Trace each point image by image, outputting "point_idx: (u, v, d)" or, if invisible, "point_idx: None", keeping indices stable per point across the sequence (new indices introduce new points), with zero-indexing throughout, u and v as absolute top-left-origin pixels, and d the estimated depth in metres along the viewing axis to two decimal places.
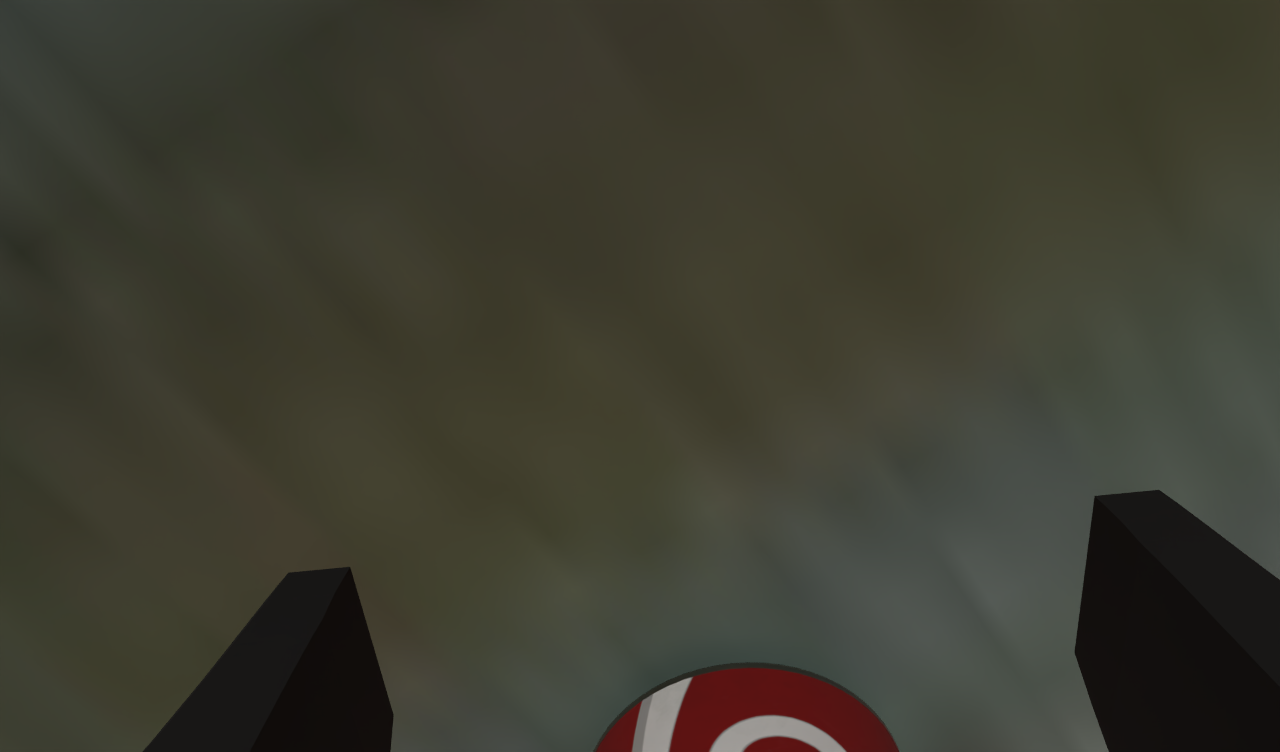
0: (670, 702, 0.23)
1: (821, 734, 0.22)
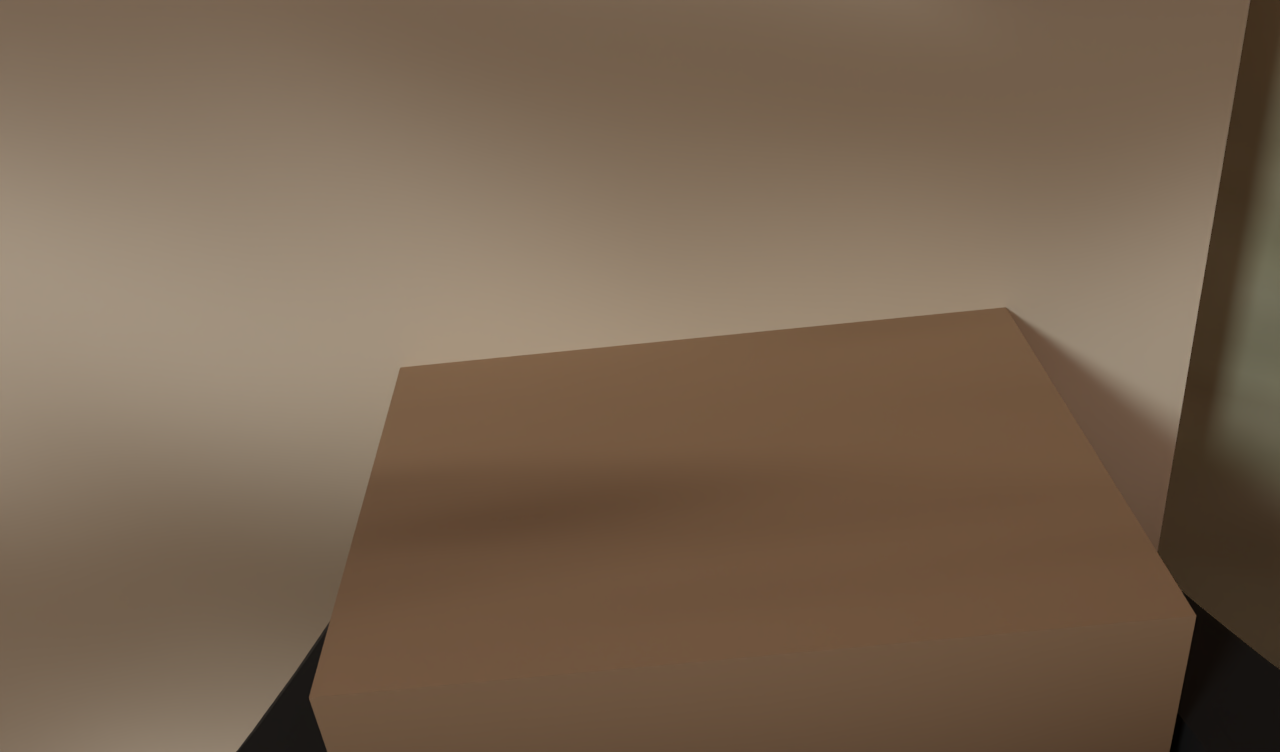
0: None
1: None
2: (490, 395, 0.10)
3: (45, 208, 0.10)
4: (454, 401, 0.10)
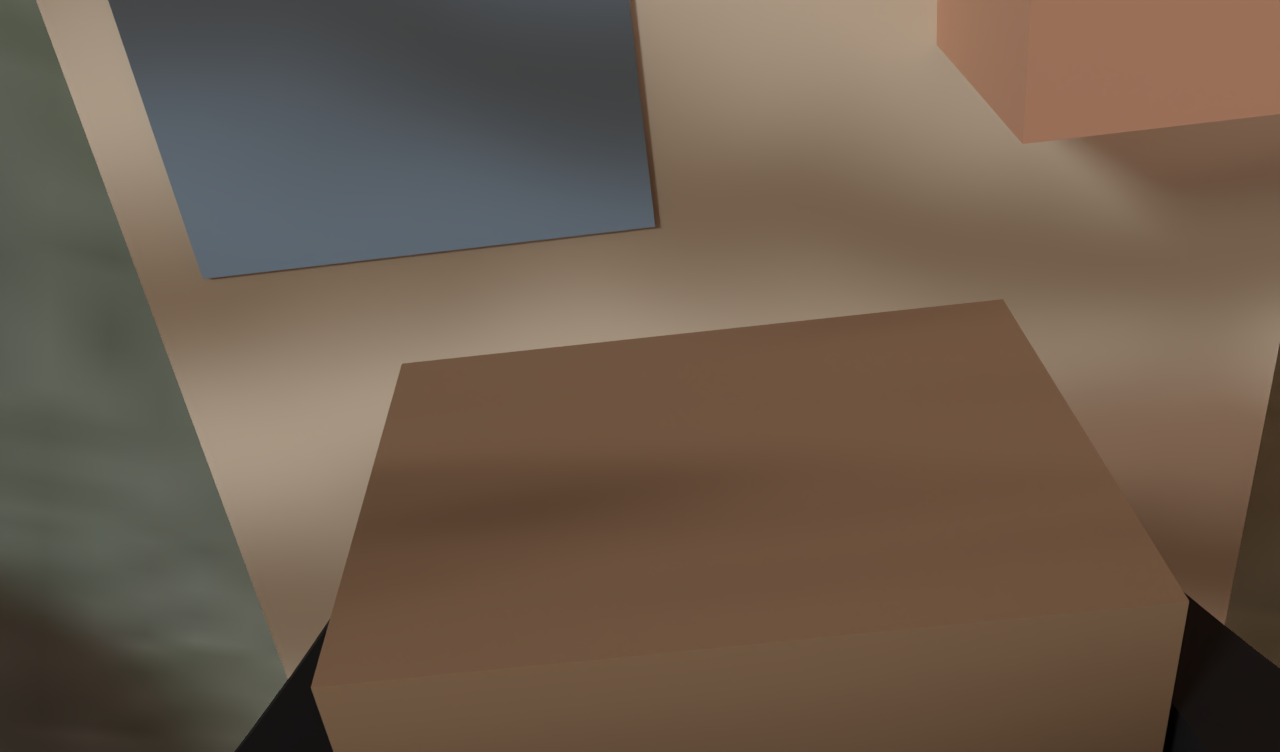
0: None
1: None
2: (490, 390, 0.10)
3: (675, 329, 0.19)
4: (455, 396, 0.10)
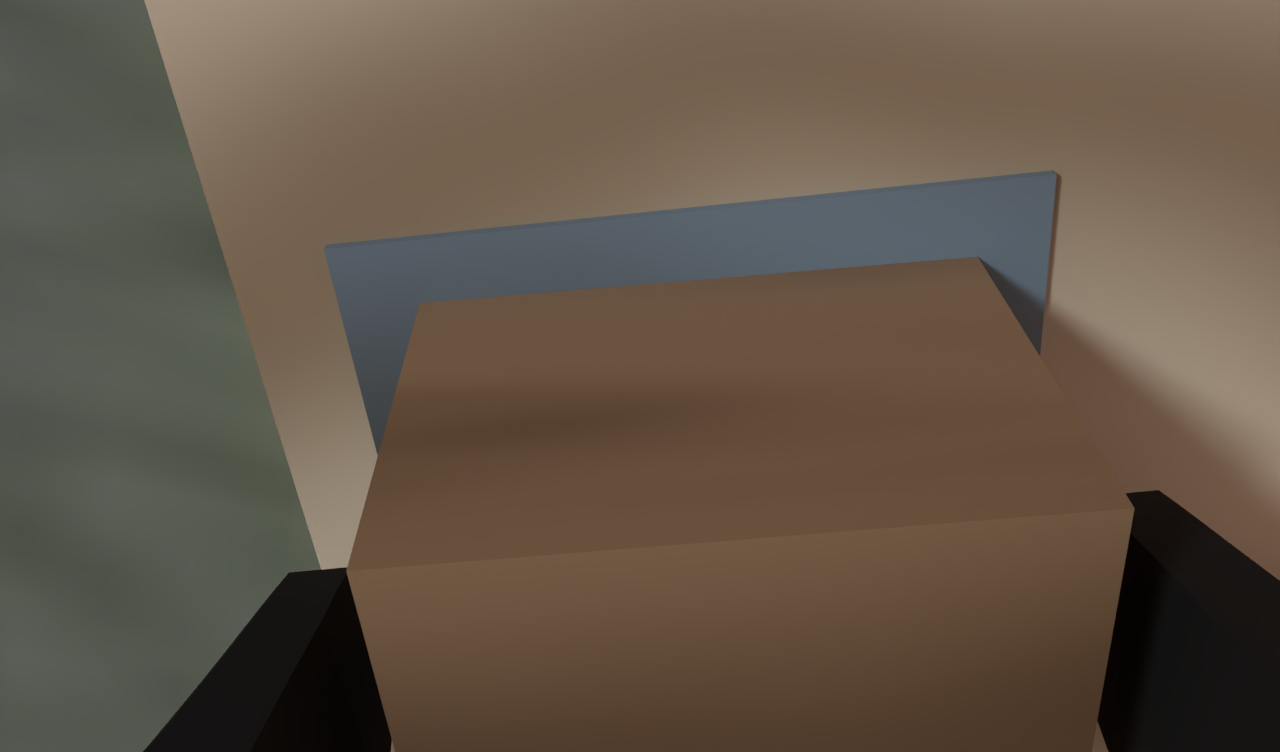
0: None
1: None
2: (503, 326, 0.11)
3: None
4: (470, 331, 0.11)
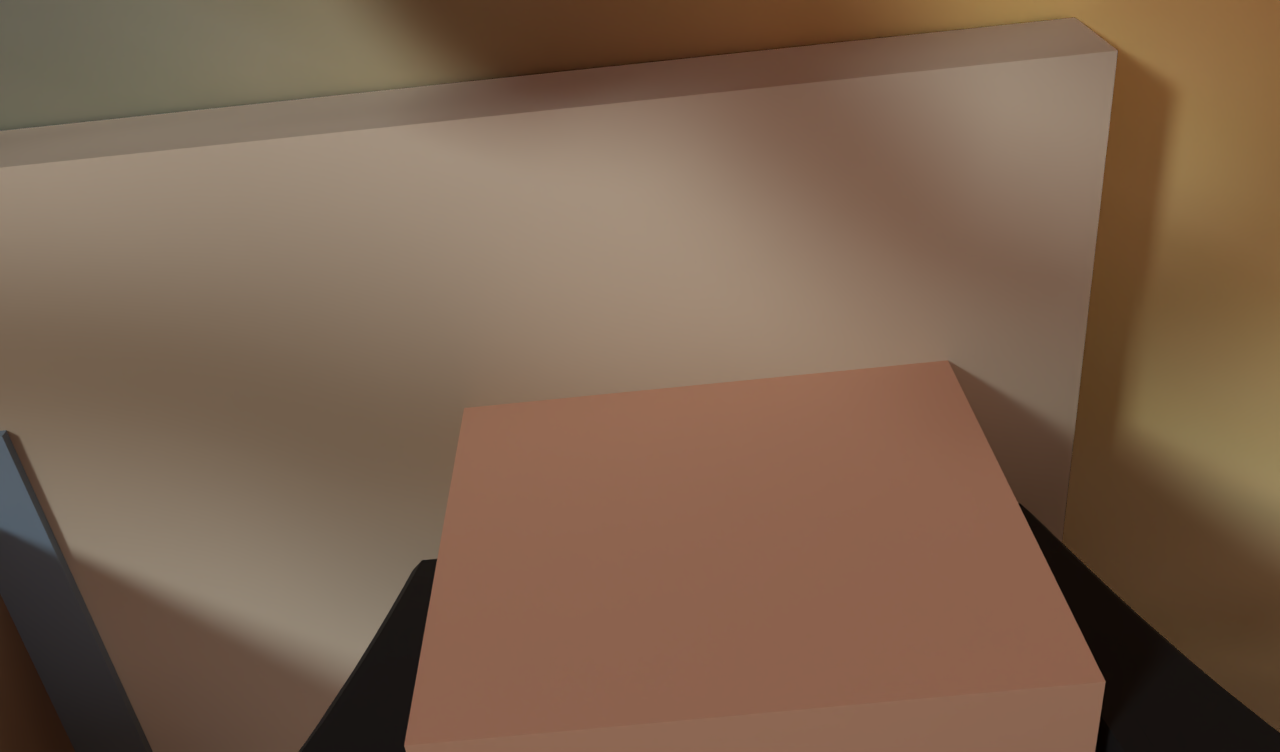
0: None
1: None
2: None
3: None
4: None
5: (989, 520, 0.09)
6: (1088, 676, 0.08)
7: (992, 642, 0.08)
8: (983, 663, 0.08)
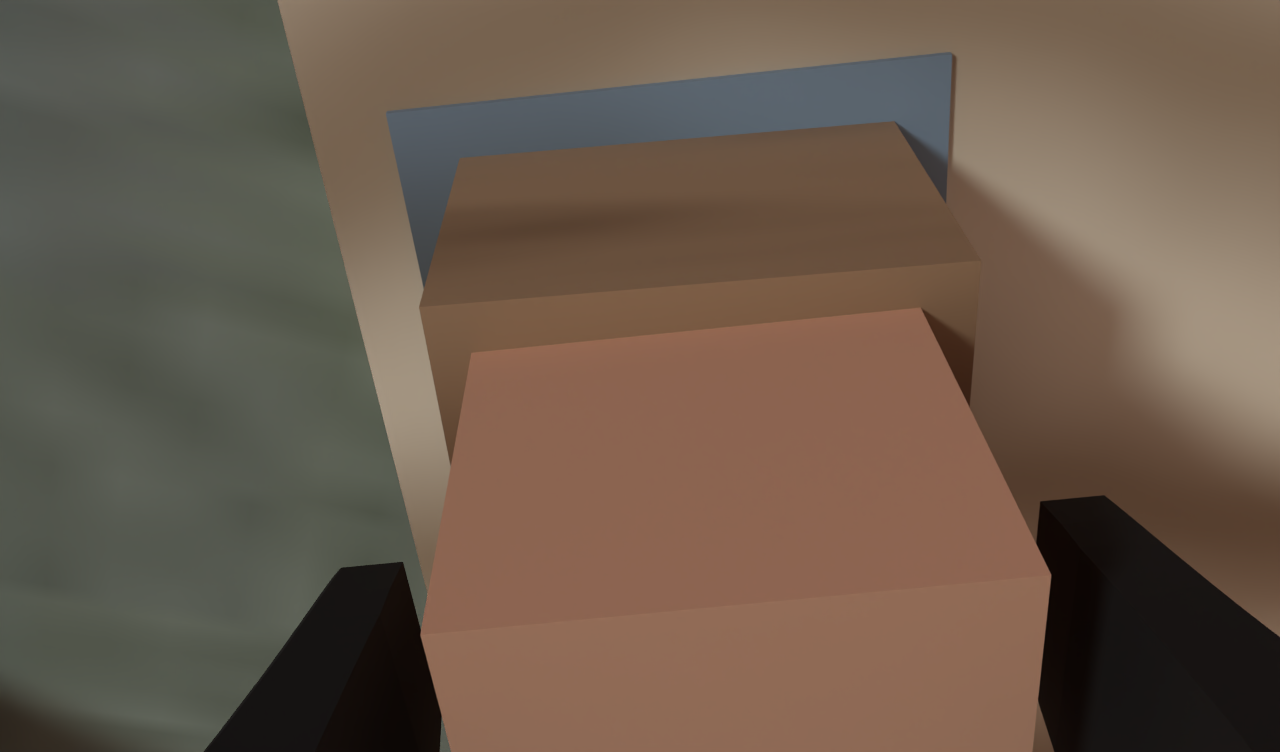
0: None
1: None
2: (526, 170, 0.14)
3: None
4: (500, 174, 0.14)
5: (953, 443, 0.10)
6: (1035, 570, 0.08)
7: (951, 544, 0.09)
8: (941, 560, 0.09)
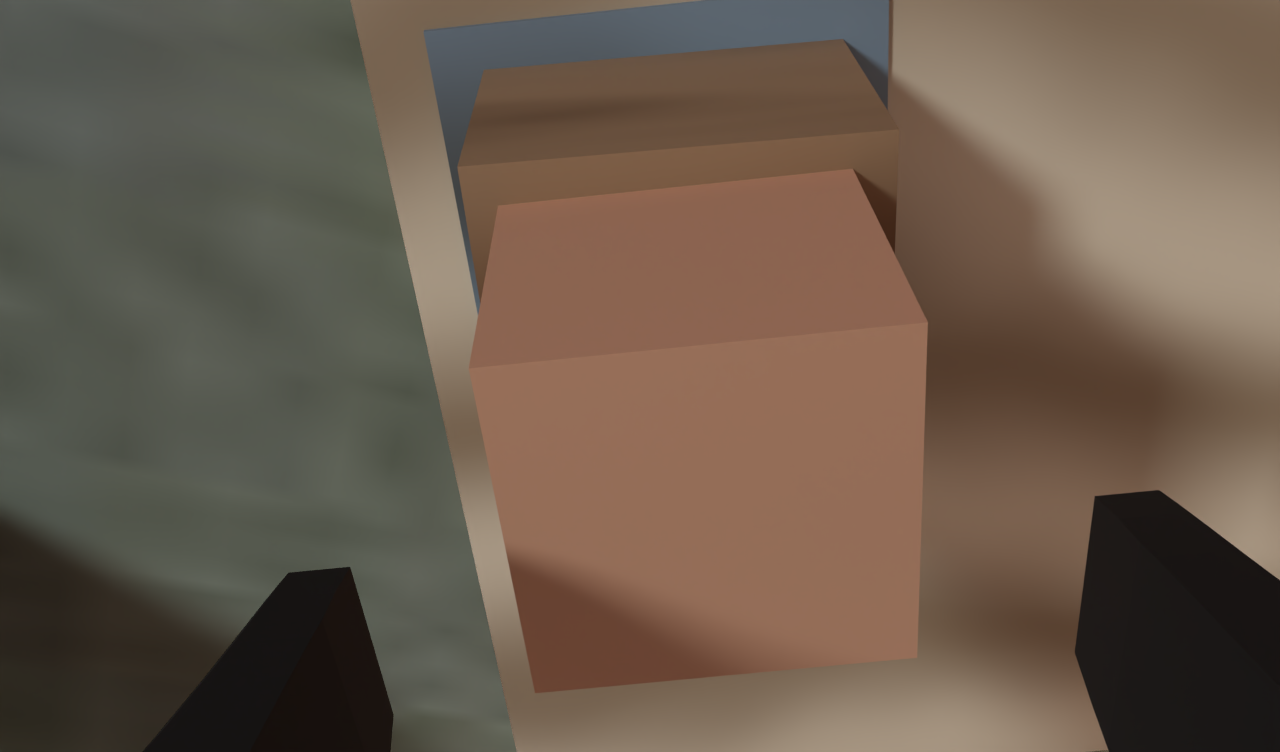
0: None
1: None
2: (539, 77, 0.18)
3: None
4: (518, 80, 0.18)
5: (867, 250, 0.13)
6: (917, 319, 0.12)
7: (858, 307, 0.12)
8: (850, 316, 0.12)
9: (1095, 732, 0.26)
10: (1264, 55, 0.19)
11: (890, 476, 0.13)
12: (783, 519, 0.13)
